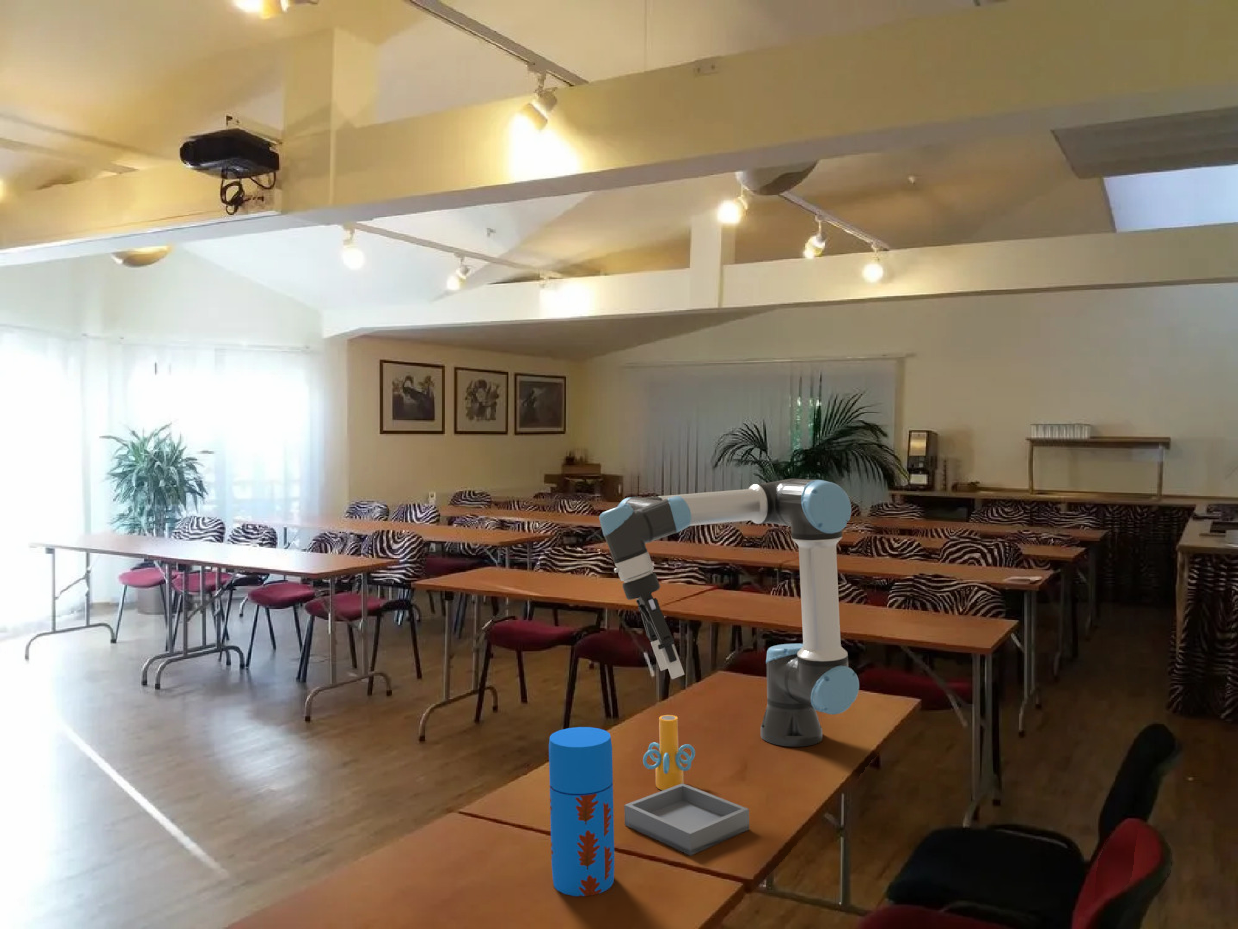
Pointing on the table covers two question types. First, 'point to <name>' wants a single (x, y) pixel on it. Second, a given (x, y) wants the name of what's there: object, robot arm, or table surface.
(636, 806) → the tray
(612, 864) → the thermos
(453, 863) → the table surface
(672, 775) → the cylinder
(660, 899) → the table surface
